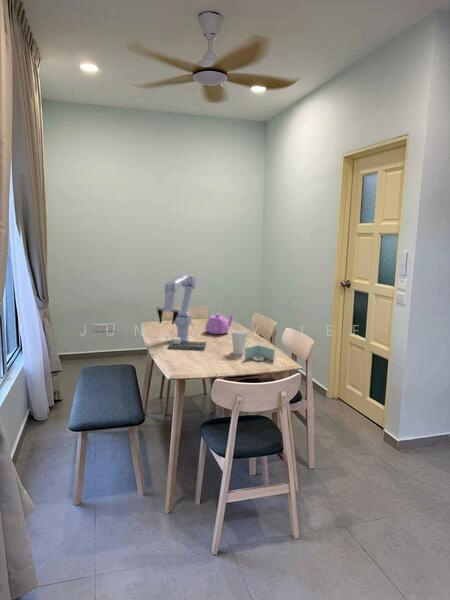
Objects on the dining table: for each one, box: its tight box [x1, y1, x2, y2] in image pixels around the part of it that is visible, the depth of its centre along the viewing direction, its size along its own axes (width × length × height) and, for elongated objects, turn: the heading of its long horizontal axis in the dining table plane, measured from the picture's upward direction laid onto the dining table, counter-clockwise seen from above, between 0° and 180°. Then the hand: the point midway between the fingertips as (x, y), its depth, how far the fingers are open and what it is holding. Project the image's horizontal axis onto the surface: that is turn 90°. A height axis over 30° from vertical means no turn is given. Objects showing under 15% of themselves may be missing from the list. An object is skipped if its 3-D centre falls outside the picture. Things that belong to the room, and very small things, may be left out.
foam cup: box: [231, 329, 248, 355], centre depth 248 cm, size 10×9×13 cm
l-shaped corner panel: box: [244, 344, 276, 362], centre depth 235 cm, size 12×12×8 cm
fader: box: [172, 336, 181, 344], centre depth 258 cm, size 5×4×3 cm
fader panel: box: [168, 340, 207, 351], centre depth 258 cm, size 12×22×2 cm, turn 88°
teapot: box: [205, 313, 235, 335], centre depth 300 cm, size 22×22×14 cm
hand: (166, 323), depth 252 cm, fingers open, 7 cm apart
